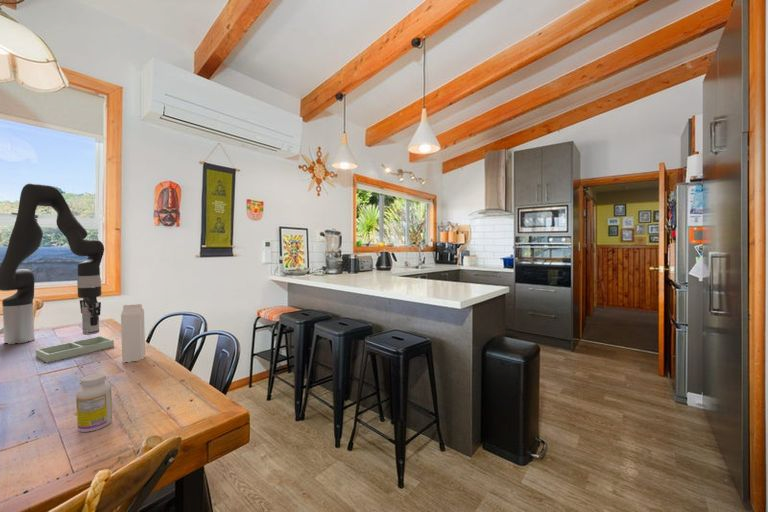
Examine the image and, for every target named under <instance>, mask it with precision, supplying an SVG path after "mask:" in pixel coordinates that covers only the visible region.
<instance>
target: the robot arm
mask: <svg viewBox="0 0 768 512" xmlns="http://www.w3.org/2000/svg"><path fill="white" fill-rule="evenodd" d="M19 196H20V197H19V201H18V203H19V204H18V209H17V214H16V219H15V222H14V225H13V227H12V231H11V234H10V237H9V241H8V245H7V248H6V252H5V254H4V258H3V260H2V262H1V264H0V292H1V291H2V292H5V291H7V292H8V291H9V292H10V291H16V292H15V293H14V294H12V295H11V296H8V297H6V298H3V299H2V302H1V304H2V305H1V306H2V307H1V308H2V320H3V341H4V342H3V343H8V344H7V345H16V344H15V343H18V344H24V343H28V341H29V342H32V341H34V340H35V339H36V338H35V319H34V317H35V316H34V315H35V314H34V298H35V275H34V272H33V271H32V270H31V269H27V268H22V269H21V268H19V266H20V265H21V264H22V263H23V262H24V261H25V260H26V259H27V258H29V257H31V256H32V255H33V254H34V253H36V251H37V250H38V249H39V248H40V246H41V243H42V240H43V236H44V233H43V232H44V231H43V230H42V228H41V225H40V224H39V222H38V220H37V219H36V211H37V208H38V206H39V207H40V206H41V207H51V208H52V209H53V210H54V211H55V212H56V215H57V216H56V221H55V223H56V226H57V229H59V231H60V232H61V233H62V234H63V236H64V237H65V238H66V240H67V243H68V247H69V249H70V251H71V253H73V254H74V255H75V256H79V257H87V258H86V260H84V261H80V262H79V263H78V264H77V297H78V299H79V307H80V313H81V314H82V307H87V312H89V314H90V325H91V326H95V325H97V324H98V321H97V316H98V315H99V316H101V311H102V310H101V308H102V303H101V301H98V297H101V296H102V279H101V269H100V268H101V267H100V266H101V263H102V259H103V256H104V253H105V246H104V244H103V242H102V241H100V240H98V239H86V238H87V237H88V231H87V230H86V229H85V228H84V226H83V225H82V224H81V223H80V222H79V221H78V219H77V218H76V216H75V215H74V213H73V212H72V210H71V208H70V206H69V204H68V202H67V201H66V199H65V198H64V195H63V194H62V192H61V191H60V190H59V188H57V187H56V186H53V185H46V184H40V183H27V184H25V185H24V186H23V187H22V189H21V192H20V195H19ZM18 268H19V269H18ZM90 308H92V310H90Z"/></svg>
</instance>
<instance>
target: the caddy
mask: <svg viewBox="0 0 768 512" xmlns="http://www.w3.org/2000/svg"><path fill="white" fill-rule="evenodd" d="M113 346H114V347H115V340H114V339H111V338H109V337H106V336H103V335H99V336H94V337H89V338H85V339H80V340H75V341H71V342H70V341H69V342H66V343H65V342H64V343H60V344H56V345H50V346H46V347H41V348H38V349H37V348H36V349H35V357H36V358H38V359H40V360H42V361H44V362H46V363H51V361H52V362H54V361H55V360H56V361H59V360H64V359H67V358H72V357H76V356H81V355H85V354H89V353H93V352H98V351H101V349H102V350H106V349H110V348H113ZM109 347H110V348H109ZM97 350H98V351H97Z"/></svg>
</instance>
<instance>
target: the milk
mask: <svg viewBox="0 0 768 512" xmlns="http://www.w3.org/2000/svg"><path fill="white" fill-rule="evenodd" d="M122 307H123V308H122V311H121V313H120V327H121V329H120V331H121V332H120V333H121V358H122V360H121V363H122V364H126V363H125V362H128V363H132V362H131V361H137V362H139V361H138V360H141V359H142V358H143V357H144V356H145V357H146V336H145V335H146V334H145V333H146V332H145V329H146V328H145V310H144V308H143V305H142V304H141V303H140V304H137V303H135V304H125V305H123V306H122ZM145 357H144V358H145ZM144 358H143V359H144ZM143 359H142V360H143ZM142 360H141V361H142Z"/></svg>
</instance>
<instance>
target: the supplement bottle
mask: <svg viewBox="0 0 768 512" xmlns="http://www.w3.org/2000/svg"><path fill="white" fill-rule="evenodd" d="M105 381H106V374H105V373H102V372H101V373H100V372H99V373H93V374H88V375H86V376H84V377H82V378H80V385H81V386H82V387H80V388H79V389H78V390H77V391H76V393H75V401H76V404H75V405H76V420H77V421H76V422H77V425H76V426H77V430H78V431H79V432H82V433H89V431H90V432H95V431H98V430H101V429H103V428H105V427H106V426H108V425H109V424H110V423H111V422H112V421H113V406H112V405H113V404H112V403H113V402H112V386H111V384H110V383H109V382H105Z"/></svg>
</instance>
